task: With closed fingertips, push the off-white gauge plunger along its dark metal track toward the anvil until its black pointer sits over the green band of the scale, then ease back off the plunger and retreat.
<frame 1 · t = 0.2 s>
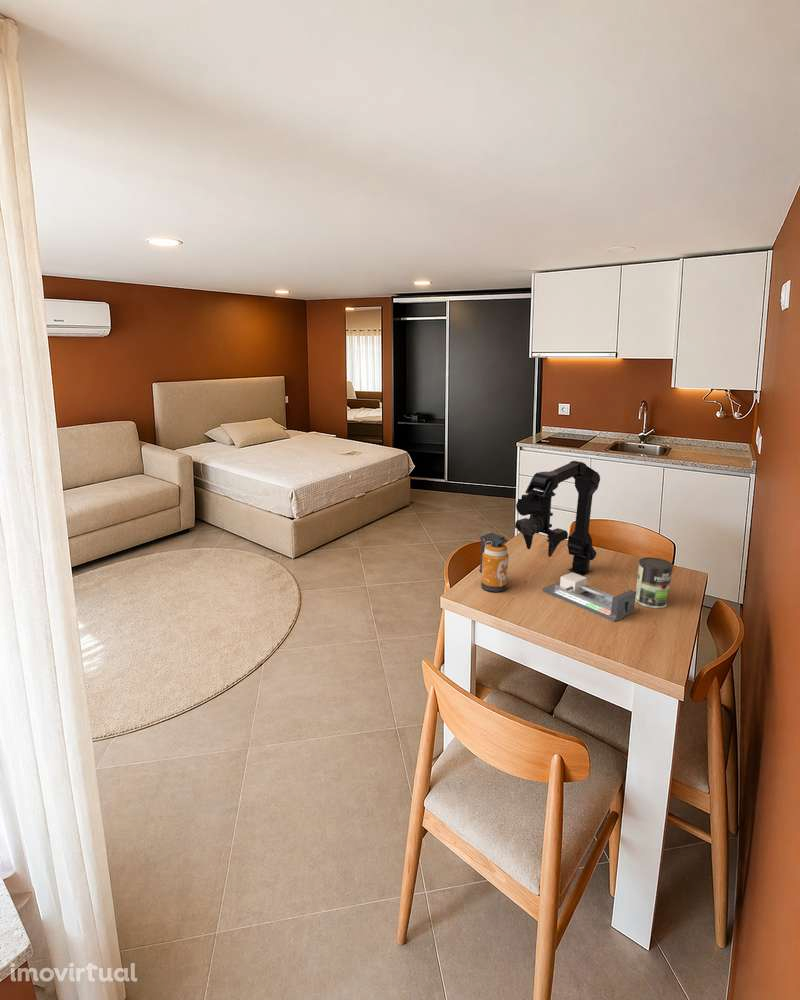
hand: (539, 552, 190), 14 cm above the table, fingers open, 9 cm apart
coffee can: (650, 602, 184), on the table
canister: (491, 587, 195), on the table
gauge track: (587, 600, 184), on the table
plunger: (581, 589, 184), point 4 cm above the table, slide at 0.0 cm
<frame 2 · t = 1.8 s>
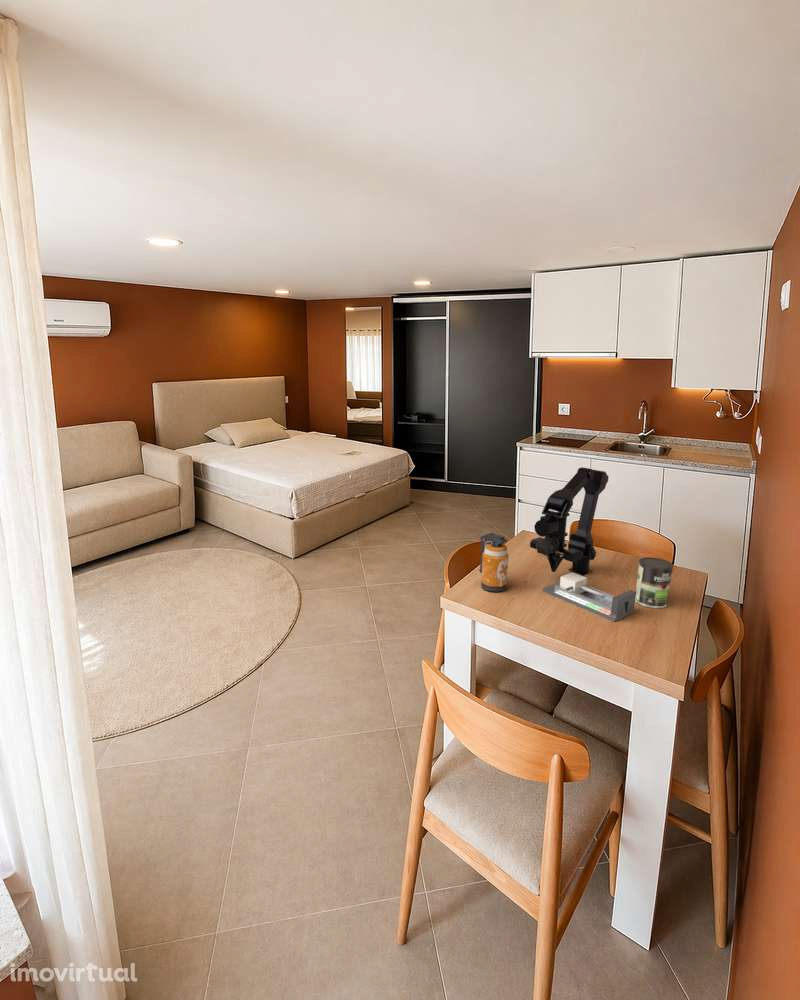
hand: (553, 571, 194), 6 cm above the table, fingers closed
nothing on the table moved.
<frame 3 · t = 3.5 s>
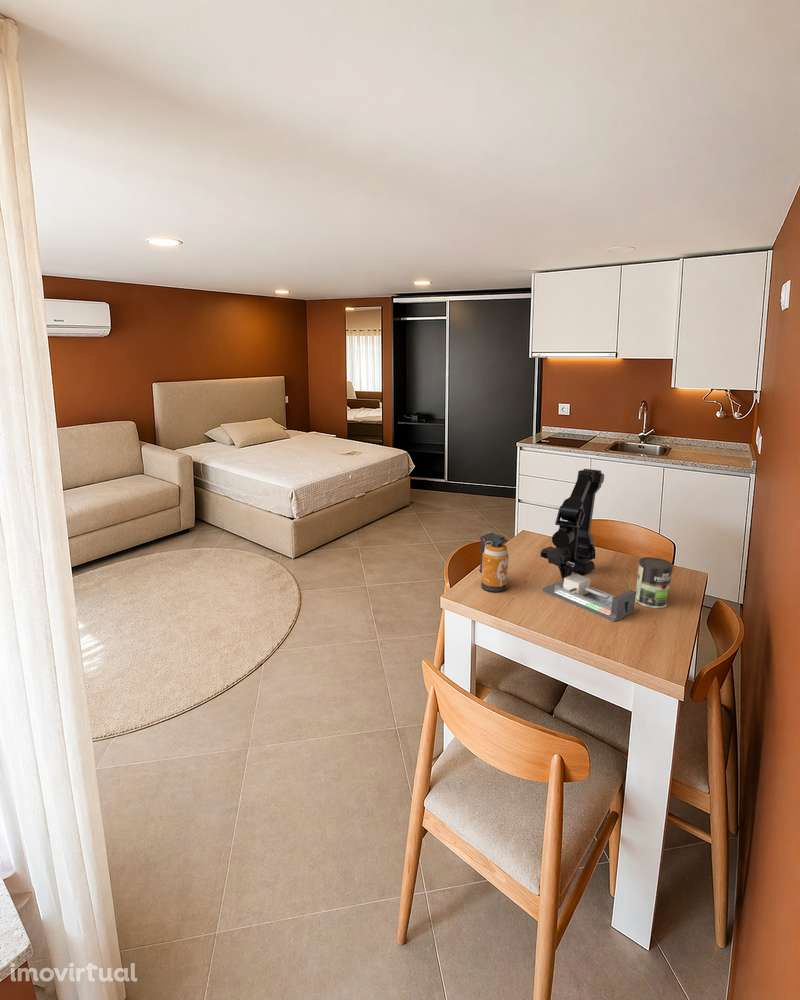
hand: (564, 581, 191), 4 cm above the table, fingers closed
plunger: (585, 590, 182), point 4 cm above the table, slide at 1.4 cm, touching gripper
everything else where it was.
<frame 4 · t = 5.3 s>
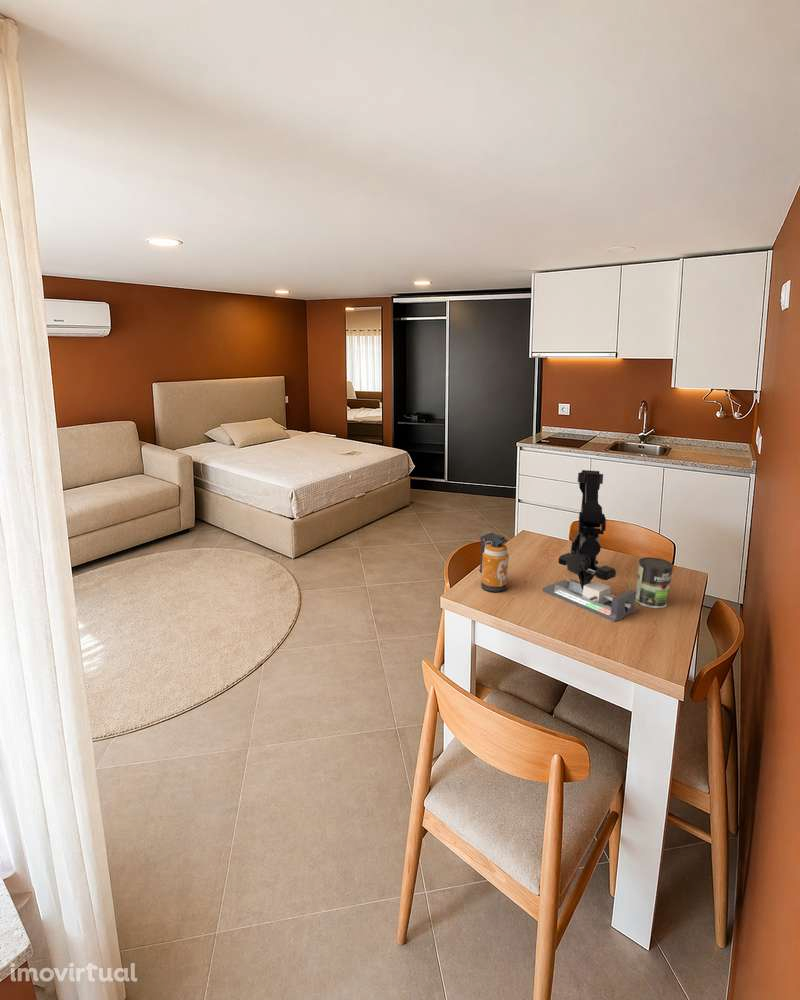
hand: (583, 589, 185), 4 cm above the table, fingers closed
plunger: (605, 599, 176), point 4 cm above the table, slide at 9.2 cm, touching gripper
everything else where it was.
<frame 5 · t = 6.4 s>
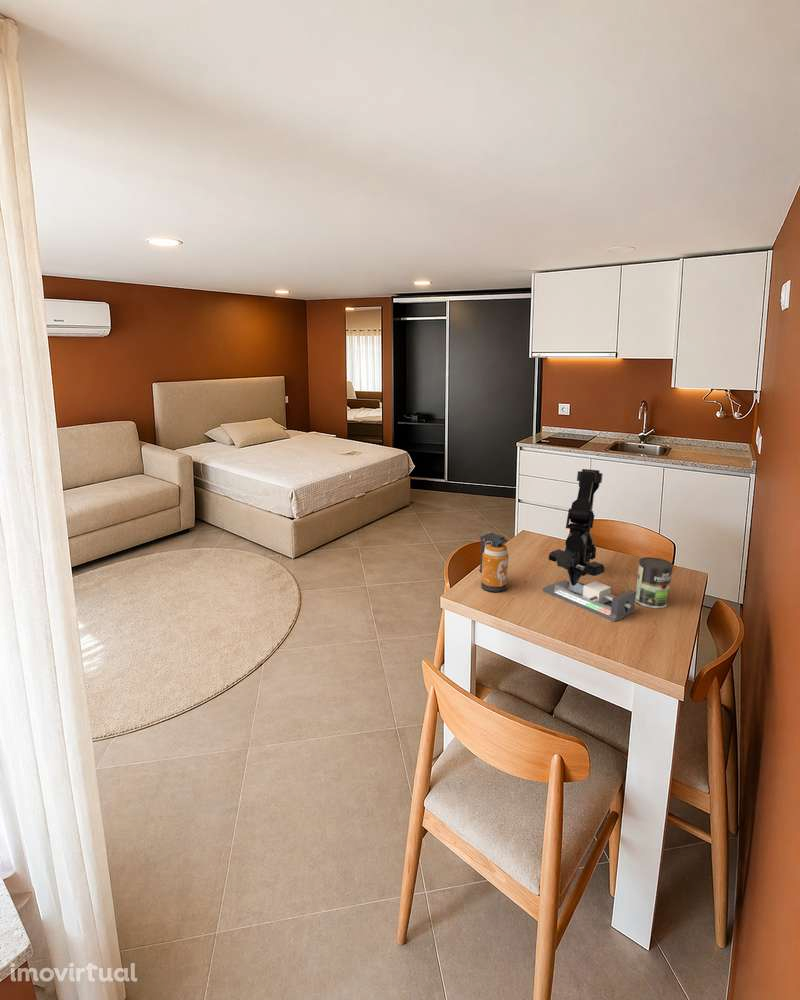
hand: (573, 585, 188), 4 cm above the table, fingers closed
plunger: (605, 599, 176), point 4 cm above the table, slide at 9.2 cm
everything else where it was.
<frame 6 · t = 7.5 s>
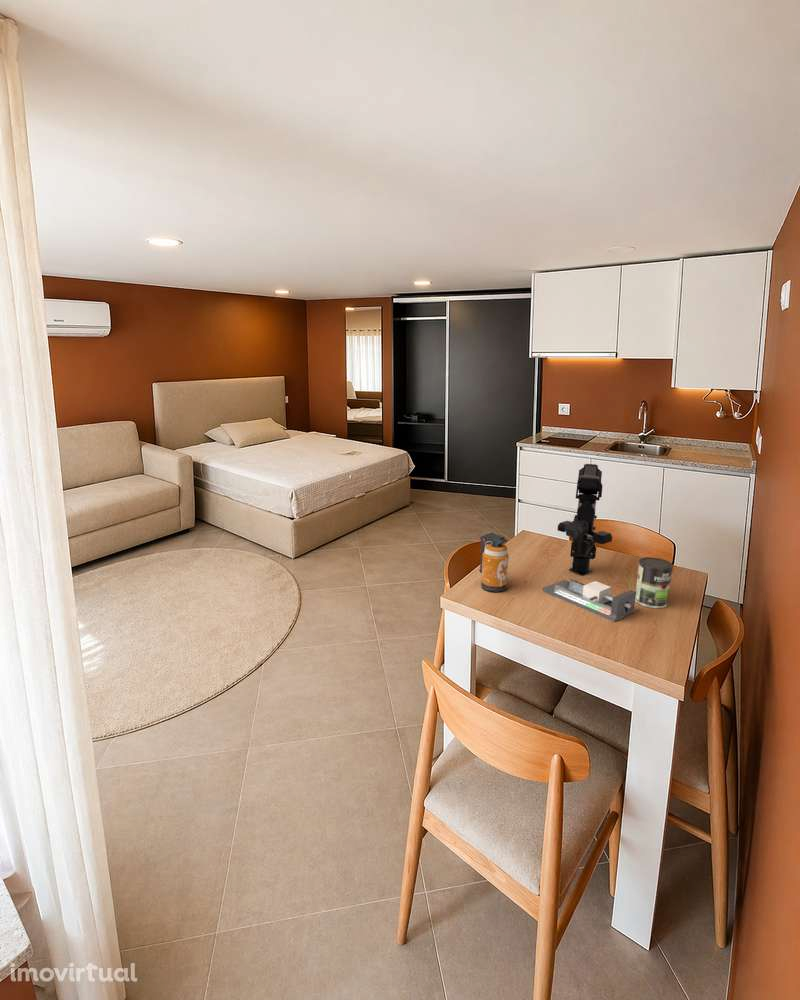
hand: (581, 554, 193), 12 cm above the table, fingers open, 3 cm apart
nothing on the table moved.
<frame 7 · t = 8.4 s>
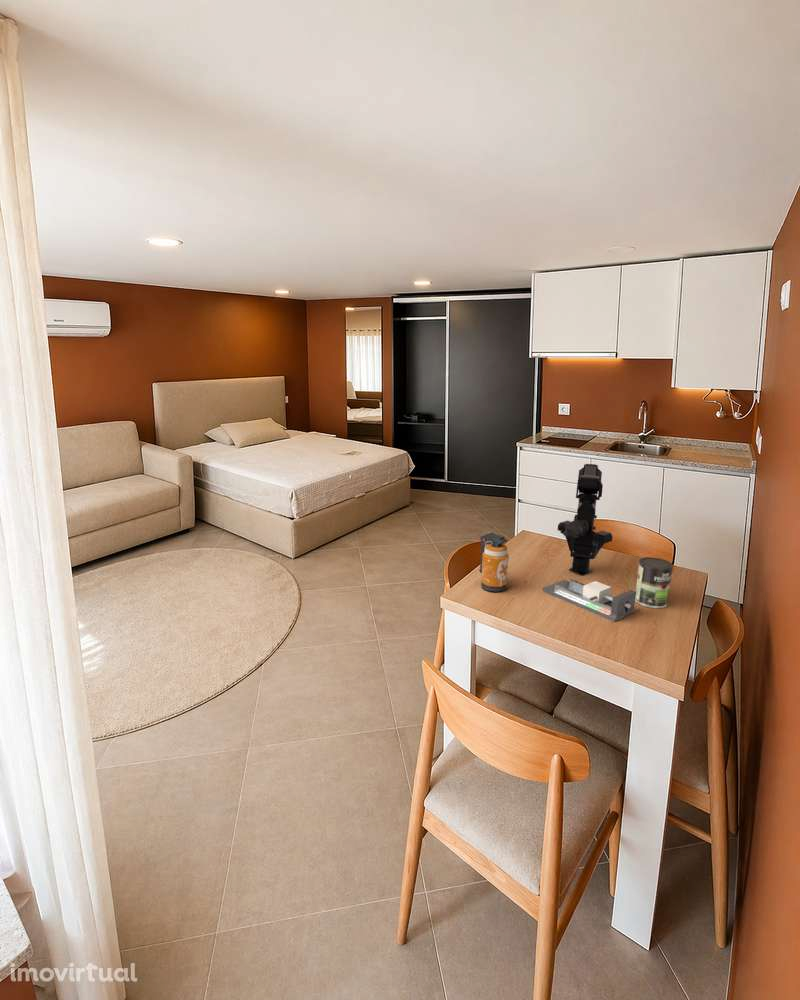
hand: (582, 554, 193), 12 cm above the table, fingers open, 9 cm apart
nothing on the table moved.
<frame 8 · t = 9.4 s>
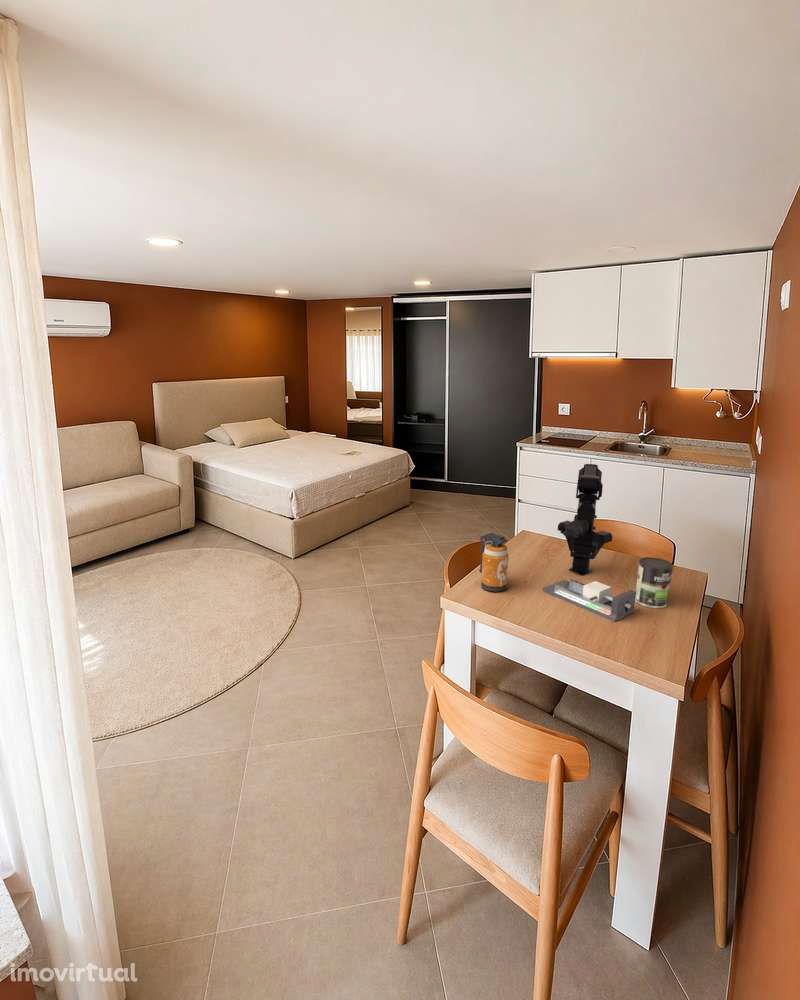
hand: (582, 554, 193), 12 cm above the table, fingers open, 9 cm apart
nothing on the table moved.
at the end: plunger slide at 9.2 cm; the gripper is holding nothing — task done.
